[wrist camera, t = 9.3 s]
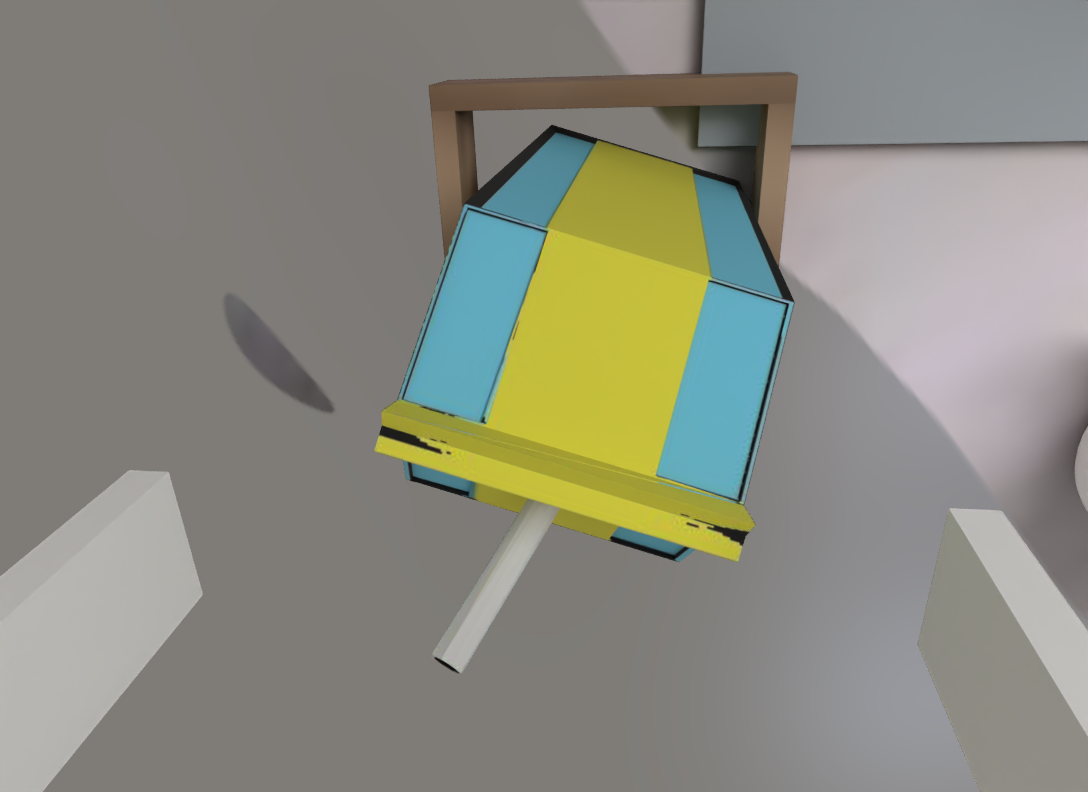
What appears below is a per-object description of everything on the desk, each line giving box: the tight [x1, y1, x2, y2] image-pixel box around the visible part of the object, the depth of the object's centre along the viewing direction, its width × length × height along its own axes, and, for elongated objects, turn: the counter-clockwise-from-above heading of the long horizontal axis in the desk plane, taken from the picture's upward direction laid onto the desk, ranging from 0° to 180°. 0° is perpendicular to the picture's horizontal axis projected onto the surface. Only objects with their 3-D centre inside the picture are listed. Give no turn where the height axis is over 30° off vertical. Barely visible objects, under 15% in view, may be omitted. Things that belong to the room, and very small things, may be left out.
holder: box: [429, 72, 798, 267], centre depth 28 cm, size 13×12×2 cm
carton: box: [374, 125, 794, 675], centre depth 21 cm, size 7×8×18 cm
